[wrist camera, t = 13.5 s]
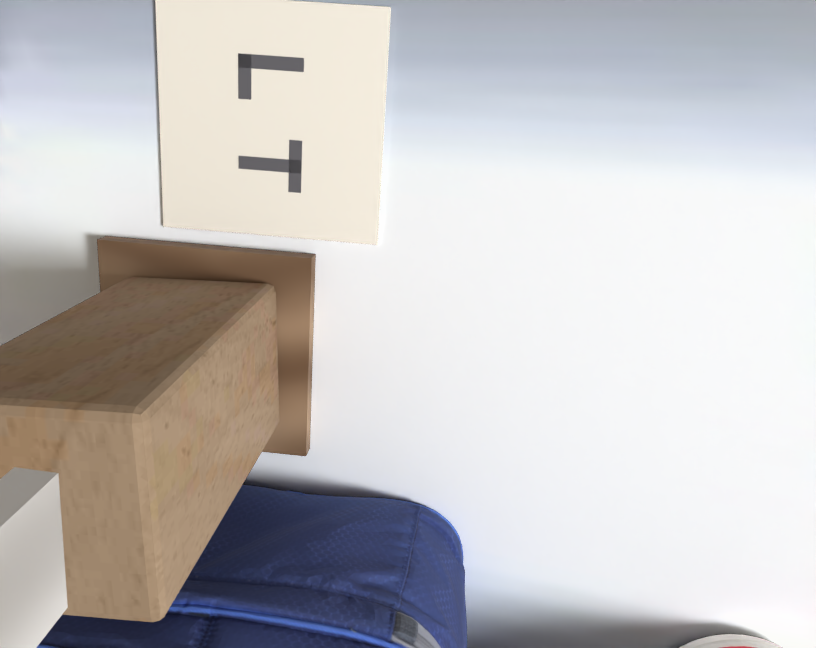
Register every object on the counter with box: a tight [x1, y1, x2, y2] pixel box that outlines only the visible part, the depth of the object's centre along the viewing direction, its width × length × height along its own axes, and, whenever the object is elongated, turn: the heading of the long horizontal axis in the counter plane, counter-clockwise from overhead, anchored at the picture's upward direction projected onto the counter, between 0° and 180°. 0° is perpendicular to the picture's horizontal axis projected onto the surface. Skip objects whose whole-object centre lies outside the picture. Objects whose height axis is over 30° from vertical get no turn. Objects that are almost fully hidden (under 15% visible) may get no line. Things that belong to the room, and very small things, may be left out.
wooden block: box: [0, 277, 279, 622], centre depth 39 cm, size 10×10×20 cm
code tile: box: [155, 0, 391, 245], centre depth 45 cm, size 14×14×1 cm
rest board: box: [97, 236, 316, 456], centre depth 49 cm, size 14×14×1 cm
